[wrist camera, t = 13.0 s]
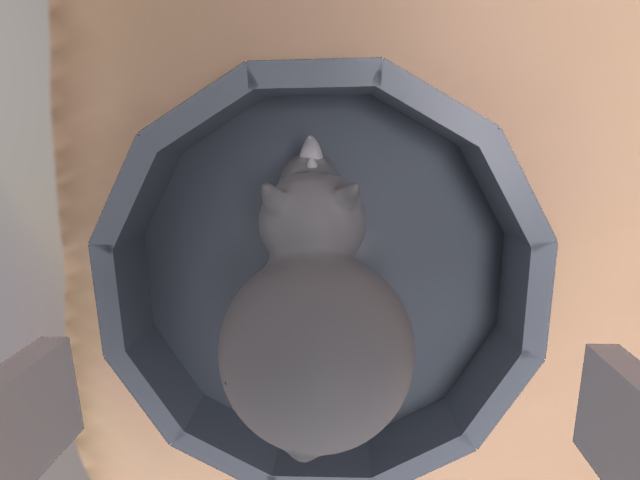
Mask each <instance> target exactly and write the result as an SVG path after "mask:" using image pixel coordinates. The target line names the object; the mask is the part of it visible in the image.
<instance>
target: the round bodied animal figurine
mask: <svg viewBox="0 0 640 480" xmlns="http://www.w3.org/2000/svg"><path fill="white" fill-rule="evenodd" d="M261 194H262V199H263V204H262V207H261V210H260V214H259V231H260V236H261V238H262V241H263V243H264V245H265V246H266V248H267V250H268V252H269V255H270V256H269V260H268V262H267V264H266V265H265V267H264V268H263V269H262V270H260V271H259V272H258V273H256V274H255V275H254V276H253V277H251V278H250V279H249V280H248V281H247V282H246V283H245V284H244V286H243V287H242V288H241V289H240V290H239V292H238V293H237V294H236V296H235V297H234V299H233V301H232V302H231V304H230V306H229V308H228V310H227V312H226V315H225V318H224V320H223V323H222V327H221V331H220V336H219V343H218V365H219V372H220V377H221V381H222V385H223V388H224V391H225V393H226V396H227V398H228V400H229V402H230V404H231V406H232V407H233V409H234V411H235V412H236V413H237V415H238V416H239V417H240V419H241V420H242V421H243V422H244V423H245V425H246V426H247V427H248V428H249V429H251V430H252V431H253V432H254V433H255V434H256V435H258V436H259V437H260V438H262V439H263V440H265V441H266V442H268V443H270V444H272V445H274V446H276V447H278V448H280V449H282V450H284V451H286V452H287V453H288V454H289V455H290V456H291V457H292V458H294V459H295V460H297V461H299V462H308V461H311V460H313V459H315V458H317V457H319V456H323V455H331V454H337V453H341V452H344V451H347V450H351V449H353V448H355V447H357V446H360V445H361V444H363V443H365V442H367V441H368V440H370V439H371V438H373V437H374V436H375V435H377V434H378V433H379V432H380V431H381V430H383V429H384V428H385V427H386V426H387V425H388V424H389V422H390V421H391V420H392V419H393V418H394V416H395V415H396V413H397V412H398V411H399V409H400V407H401V406H402V404H403V402H404V400H405V398H406V396H407V394H408V391H409V388H410V385H411V382H412V377H413V373H414V366H415V340H414V334H413V329H412V326H411V322H410V319H409V316H408V314H407V311H406V309H405V307H404V305H403V303H402V302H401V300H400V298H399V297H398V295H397V294H396V292H395V291H394V290H393V288H392V287H391V286H390V285H389V284H388V283H387V282H386V281H385V280H384V279H383V278H382V277H381V276H380V275H378V274H377V273H376V272H374V271H373V270H371V269H370V268H368V267H367V266H365V265H363V264H362V263H360V262H359V261H358V260H357V259H356V258H355V255H356V253H357V251H358V249H359V247H360V245H361V243H362V241H363V238H364V234H365V229H366V216H365V210H364V206H363V203H362V201H361V198H360V197H359V196H360V186H359V184H358V183H355V182H352V183H349V184H348V183H347V182H345V180H344V179H342V178H341V177H340V176H339V174H338V172H337V170H336V168H335V167H334V166H333V163H332V161H331V160H330V159H329V158H324V157H323V155H322V151H321V148H320V146H319V143H318V142H317V140H316V139H315V138H314V137H313V136H311V135H310V136H308V137H307V138H306V140H305V142H304V144H303V147H302V149H301V152H300V155H298V156H294V157H293V158H292V159H291V160H290V161H289V162H288V164H287V165H286V166H285V167H284V169H283V171H282V173H281V175H280V178H279V183H278V184H277V185H276V187H274V186H273V185H271V184H269V183H265V184H263V185H262V188H261Z"/></svg>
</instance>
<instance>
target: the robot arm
mask: <svg viewBox="0 0 640 480" xmlns="http://www.w3.org/2000/svg"><path fill="white" fill-rule="evenodd" d="M83 429H84V424H83V418H82V412H81V406H80V400H79V394H78V388H77V382H76V376H75V370H74V364H73V358H72V352H71V346H70V340H69V337H40V338H39V339H37V340H36V341H34V342H33V343H31V344H30V345H28V346H26V347H25V348H23V349H22V350H20V351H19V352H17V353H16V354H14V355H13V356H12V357H10V358H8V359H7V360H5V361H4V362H2V363H1V364H0V480H38V479H39V478H40V477H41V476H42V475H43V474H44V472H45V471H46V470H47V469H48V468H49V467H50V466H51V465H52V464H53V462H54V461H55V460H56V459H57V458H58V457H59V456H60V455H61V454H62V452H63V451H64V450H65V449H66V448H67V447H68V446H69V445H70V443H71V442H72V441H73V440H74V439H75V438H76V437H77V436H78V435H79V433H80V432H81V431H82V430H83ZM573 442H574V444H575V445H576V447H577V448H578V449H579V451H580V452H581V453H582V455H583V456H584V458H585V459H586V460H587V462H588V463H589V464H590V466H591V467H592V469H593V470H594V471H595V473H596V474H597V475H598V477H599V478H600V480H640V360H638V359H637V358H636V357H635V356H633V355H632V354H631V353H630V352H628V351H627V350H626V349H624V348H623V347H622V346H621V345H619V344H586V348H585V356H584V363H583V370H582V377H581V385H580V392H579V399H578V406H577V414H576V421H575V428H574V435H573Z"/></svg>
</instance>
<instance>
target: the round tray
mask: <svg viewBox="0 0 640 480" xmlns="http://www.w3.org/2000/svg"><path fill="white" fill-rule="evenodd" d="M310 135H311V136H313V137H314V138H315V139H316V140H317V142H318V143H319V146H320V148H321V151H322V155H323V157H324V158H329V159H330V160H331V161H332V163H333V166H334V167H335V168H336V170H337V172H338V174H339V176H340V177H341V178H342V179H344V180H345V182H347V183H348V184H349V183H352V182H355V183H358V184H359V186H360V196H359V197H360V198H361V201H362V203H363V206H364V210H365V216H366V229H365V234H364V238H363V241H362V243H361V245H360V247H359V249H358V251H357V253H356V255H355V258H356V259H357V260H358V261H359V262H360V263H362V264H363V265H365V266H367V267H368V268H370V269H371V270H373V271H374V272H376V273H377V274H378V275H380V276H381V277H382V278H383V279H384V280H385V281H386V282H387V283H388V284H389V285H390V286H391V287H392V288H393V290H394V291H395V292H396V294H397V295H398V297H399V298H400V300H401V302H402V303H403V305H404V307H405V309H406V311H407V314H408V316H409V319H410V322H411V326H412V329H413V334H414V340H415V366H414V373H413V377H412V382H411V385H410V388H409V391H408V394H407V396H406V398H405V400H404V402H403V404H402V406H401V407H400V409H399V411H398V412H397V413H396V415H395V416H394V418H393V419H392V420H391V421H390V422H389V424H388V425H387V426H386V427H385V428H384V429H383V430H381V431H380V432H379V433H378V434H377V435H375V436H374V437H373V438H371V439H370V440H368V441H367V442H365V443H363V444H361V445H360V446H357V447H355V448H353V449H351V450H347V451H344V452H341V453H337V454H331V455H323V456H319V457H317V458H315V459H313V460H311V461H308V462H299V461H297V460H295V459H294V458H292V457H291V456H290V455H289V454H288V453H287V452H286V451H284V450H282V449H280V448H278V447H276V446H274V445H272V444H270V443H268V442H266V441H265V440H263V439H262V438H260V437H259V436H258V435H256V434H255V433H254V432H253V431H252V430H251V429H249V428H248V427H247V426H246V425H245V423H244V422H243V421H242V420H241V419H240V417H239V416H238V415H237V413H236V412H235V411H234V409H233V407H232V406H231V404H230V402H229V400H228V398H227V396H226V393H225V391H224V388H223V385H222V381H221V377H220V372H219V365H218V343H219V336H220V331H221V327H222V323H223V320H224V318H225V315H226V312H227V310H228V308H229V306H230V304H231V302H232V301H233V299H234V297H235V296H236V294H237V293H238V292H239V290H240V289H241V288H242V287H243V286H244V284H245V283H246V282H247V281H248V280H249V279H250V278H251V277H253V276H254V275H255V274H256V273H258V272H259V271H260V270H262V269H263V268H264V267H265V265H266V264H267V262H268V260H269V256H270V255H269V252H268V250H267V248H266V246H265V245H264V243H263V241H262V238H261V236H260V231H259V214H260V210H261V207H262V204H263V199H262V194H261V188H262V185H263V184H265V183H269V184H271V185H273V186H274V187H276V185H277V184H278V183H279V178H280V175H281V173H282V171H283V169H284V167H285V166H286V165H287V164H288V162H289V161H290V160H291V159H292V158H293V157H294V156H298V155H300V152H301V149H302V147H303V144H304V142H305V140H306V138H307V137H308V136H310ZM556 241H557V238H556V236H555V234H554V232H553V230H552V228H551V226H550V224H549V222H548V220H547V218H546V216H545V214H544V212H543V210H542V208H541V206H540V204H539V202H538V200H537V198H536V196H535V194H534V192H533V190H532V188H531V186H530V184H529V182H528V180H527V178H526V176H525V174H524V172H523V170H522V168H521V167H520V165H519V163H518V161H517V159H516V157H515V155H514V153H513V151H512V149H511V147H510V145H509V143H508V141H507V139H506V137H505V135H504V133H503V131H502V129H501V128H499V126H498V125H497V124H495V123H493V122H492V121H490V120H488V119H487V118H485V117H483V116H481V115H480V114H478V113H476V112H475V111H473V110H471V109H470V108H468V107H466V106H465V105H463V104H461V103H460V102H458V101H456V100H454V99H453V98H451V97H449V96H448V95H446V94H444V93H443V92H441V91H439V90H438V89H436V88H434V87H433V86H431V85H429V84H427V83H426V82H424V81H422V80H421V79H419V78H417V77H416V76H414V75H412V74H411V73H409V72H407V71H406V70H404V69H402V68H400V67H399V66H397V65H395V64H394V63H392V62H390V61H389V60H387V59H385V58H384V59H383V61H382V57H375V58H335V59H296V60H256V61H247V63H246V62H245V61H244V62H243V63H241V64H240V65H238V66H237V67H235V68H234V69H232V70H231V71H229V72H228V73H226V74H225V75H223V76H222V77H220V78H219V79H217V80H216V81H214V82H213V83H211V84H210V85H208V86H207V87H205V88H204V89H202V90H201V91H199V92H198V93H196V94H195V95H193V96H192V97H190V98H189V99H187V100H186V101H184V102H183V103H181V104H180V105H178V106H177V107H175V108H174V109H172V110H171V111H169V112H168V113H166V114H165V115H163V116H162V117H160V118H159V119H157V120H156V121H154V122H153V123H151V124H150V125H148V126H147V127H145V128H144V129H142V130H141V131H139V132H138V134H136V136H135V139H134V141H133V143H132V145H131V148H130V150H129V152H128V154H127V157H126V159H125V161H124V163H123V166H122V168H121V170H120V173H119V175H118V177H117V179H116V182H115V184H114V186H113V188H112V191H111V193H110V195H109V198H108V200H107V202H106V204H105V207H104V209H103V211H102V213H101V216H100V218H99V220H98V222H97V225H96V227H95V229H94V232H93V234H92V236H91V238H90V241H89V243H90V244H89V245H88V247H89V255H90V262H91V269H92V277H93V284H94V292H95V299H96V306H97V314H98V321H99V328H100V336H101V343H102V351H103V356H105V357H104V358H105V360H106V361H107V362H108V364H109V365H110V366H111V368H112V369H113V370H114V372H115V373H116V374H117V376H118V377H119V378H120V380H121V381H122V382H123V384H124V385H125V386H126V388H127V389H128V390H129V392H130V393H131V394H132V396H133V397H134V398H135V400H136V401H137V402H138V404H139V405H140V407H141V408H142V409H143V411H144V412H145V413H146V415H147V416H148V417H149V419H150V420H151V421H152V423H153V424H154V425H155V427H156V428H157V429H158V431H159V432H160V433H161V435H162V436H163V437H164V439H165V440H166V441H167V443H168V444H171V445H170V446H172V447H174V448H176V449H178V450H180V451H182V452H184V453H186V454H188V455H190V456H192V457H194V458H196V459H198V460H200V461H202V462H204V463H206V464H208V465H210V466H212V467H214V468H216V469H218V470H220V471H222V472H224V473H226V474H228V475H230V476H232V477H234V478H236V479H238V480H414V479H416V478H418V477H421V476H423V475H425V474H427V473H429V472H431V471H433V470H436V469H438V468H440V467H442V466H444V465H446V464H449V463H451V462H453V461H455V460H457V459H459V458H462V457H464V456H466V455H468V454H470V453H472V452H475V451H476V449H479V447H480V446H481V445H482V443H483V442H484V441H485V439H486V438H487V437H488V435H489V434H490V433H491V431H492V430H493V429H494V427H495V426H496V425H497V423H498V422H499V421H500V419H501V418H502V417H503V415H504V414H505V413H506V412H507V410H508V409H509V408H510V406H511V405H512V404H513V402H514V401H515V400H516V398H517V397H518V396H519V394H520V393H521V392H522V390H523V389H524V388H525V386H526V385H527V384H528V382H529V381H530V380H531V378H532V377H533V376H534V374H535V373H536V372H537V370H538V369H539V368H540V366H541V365H542V364H543V362H544V361H545V360H544V359H546V351H547V341H548V332H549V322H550V313H551V303H552V294H553V285H554V275H555V266H556V256H557V247H558V242H556ZM475 448H476V449H475Z"/></svg>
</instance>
